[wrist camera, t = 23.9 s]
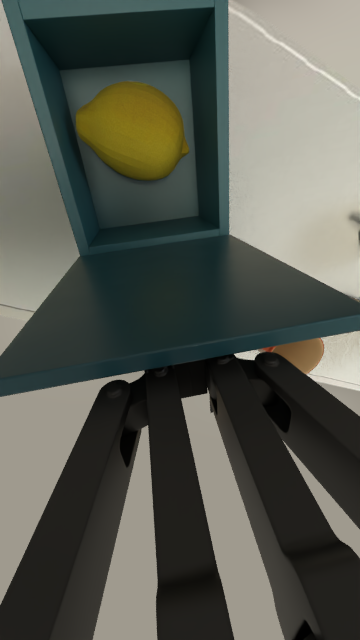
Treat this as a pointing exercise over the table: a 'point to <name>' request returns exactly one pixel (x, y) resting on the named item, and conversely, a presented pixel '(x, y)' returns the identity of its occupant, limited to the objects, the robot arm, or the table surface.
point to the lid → (168, 312)
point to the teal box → (131, 65)
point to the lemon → (134, 130)
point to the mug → (300, 353)
